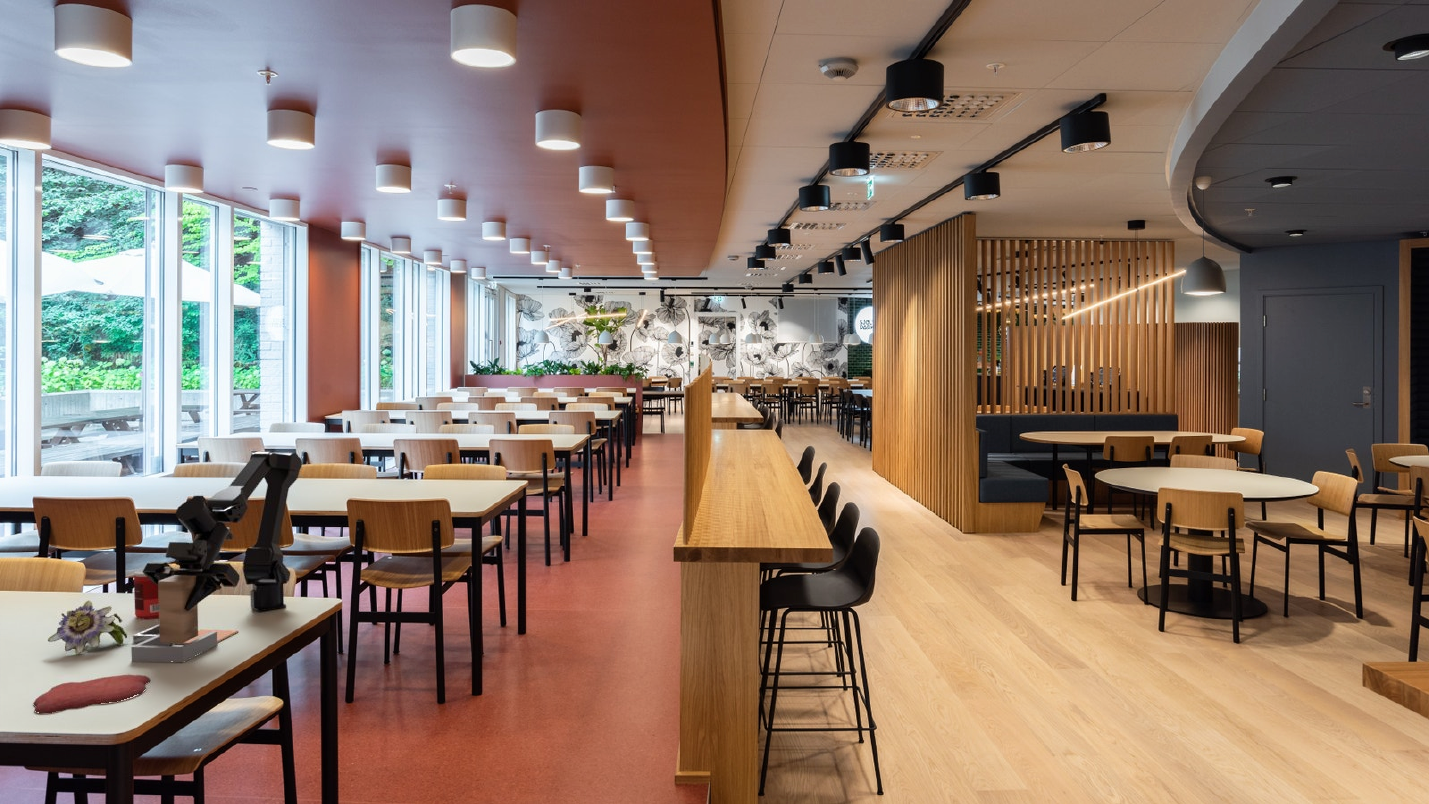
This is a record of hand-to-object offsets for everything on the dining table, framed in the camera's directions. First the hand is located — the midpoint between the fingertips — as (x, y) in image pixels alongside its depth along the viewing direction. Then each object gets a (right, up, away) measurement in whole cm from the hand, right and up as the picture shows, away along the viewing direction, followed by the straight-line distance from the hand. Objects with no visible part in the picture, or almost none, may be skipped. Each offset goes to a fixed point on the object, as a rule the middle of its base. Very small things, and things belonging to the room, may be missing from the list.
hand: (173, 609), depth 183 cm
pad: (+1, -9, +11) cm, 14 cm away
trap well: (-9, -9, +11) cm, 17 cm away
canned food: (-22, -8, +28) cm, 36 cm away
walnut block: (0, -7, +2) cm, 7 cm away
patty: (-1, -11, -22) cm, 25 cm away
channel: (0, -9, +1) cm, 9 cm away
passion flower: (-21, -9, +4) cm, 23 cm away
